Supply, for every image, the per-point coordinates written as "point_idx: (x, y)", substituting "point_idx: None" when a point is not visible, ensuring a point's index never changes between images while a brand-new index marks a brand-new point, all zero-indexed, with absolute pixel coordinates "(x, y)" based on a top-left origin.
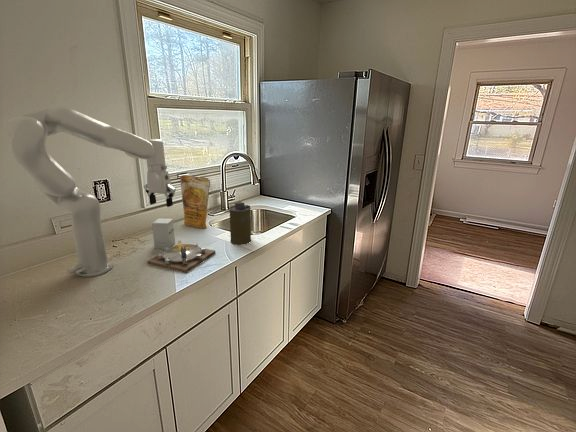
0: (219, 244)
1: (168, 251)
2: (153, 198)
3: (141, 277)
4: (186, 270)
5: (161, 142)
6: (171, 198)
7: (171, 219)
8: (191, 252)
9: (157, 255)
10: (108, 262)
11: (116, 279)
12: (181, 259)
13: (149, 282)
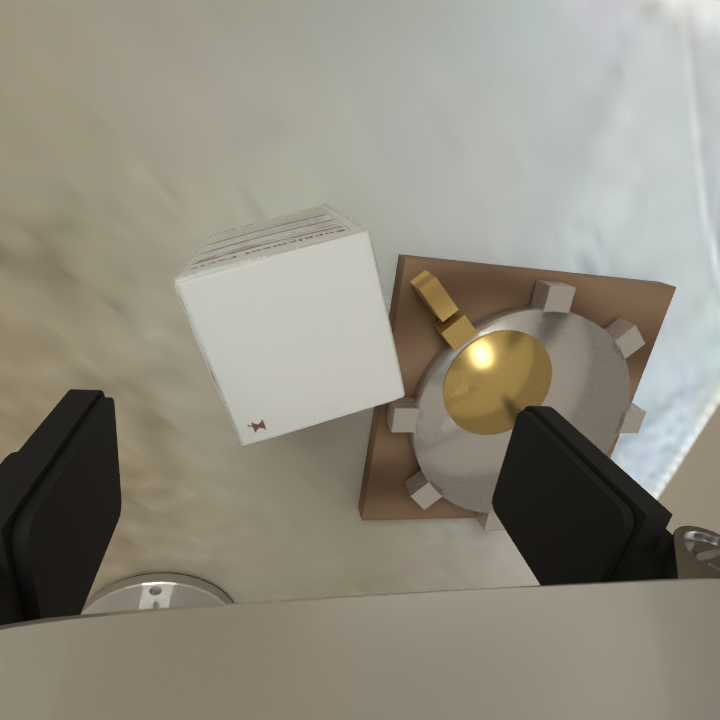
0: (658, 125)
1: (447, 450)
2: (71, 535)
3: (415, 590)
4: None
5: None
6: (664, 548)
7: (369, 265)
8: (582, 413)
9: (375, 458)
10: (177, 596)
11: None
12: None
13: None
